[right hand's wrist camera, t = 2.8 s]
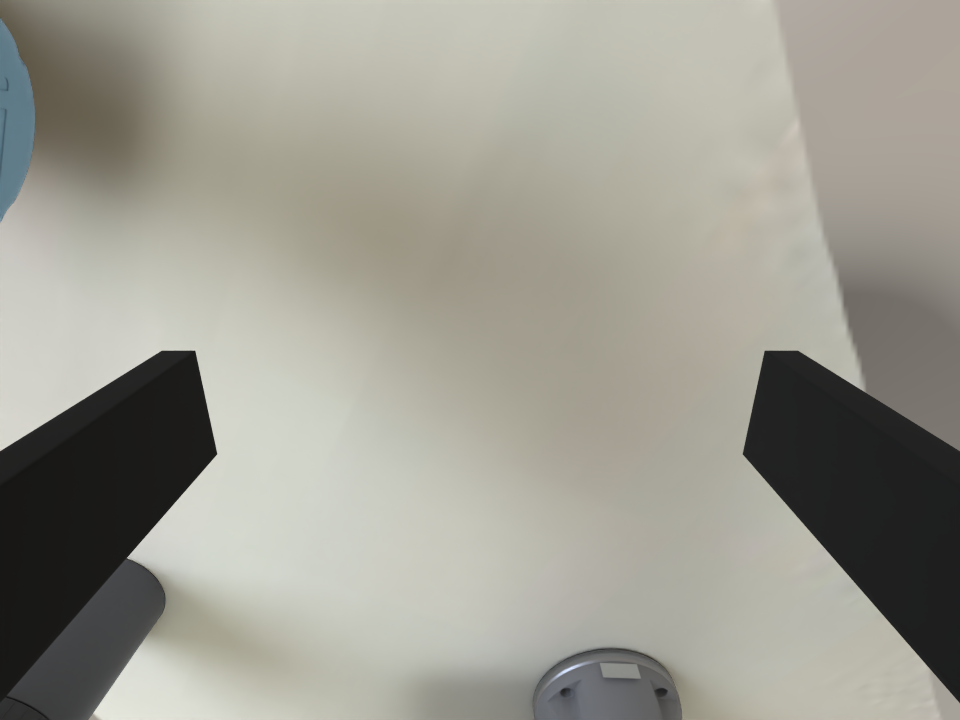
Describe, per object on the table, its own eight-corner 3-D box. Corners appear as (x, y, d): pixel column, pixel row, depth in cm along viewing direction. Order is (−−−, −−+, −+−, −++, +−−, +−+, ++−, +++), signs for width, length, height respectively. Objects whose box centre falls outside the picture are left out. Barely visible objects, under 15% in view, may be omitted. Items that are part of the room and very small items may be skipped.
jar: (179, 580, 50) (58, 751, 36) (147, 641, 53) (24, 821, 39) (82, 539, 49) (-86, 702, 34) (55, 604, 52) (-110, 779, 37)
